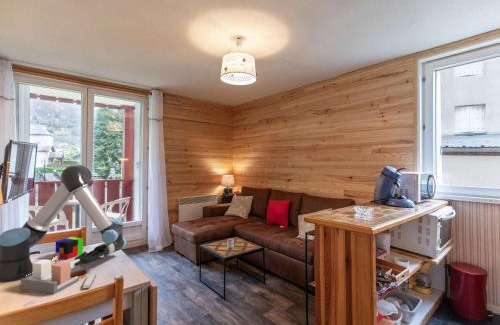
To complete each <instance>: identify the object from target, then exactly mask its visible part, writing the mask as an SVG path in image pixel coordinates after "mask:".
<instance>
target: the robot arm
mask: <svg viewBox="0 0 500 325" xmlns="http://www.w3.org/2000/svg"><path fill="white" fill-rule="evenodd" d="M92 179H93V172H92V170H91V168H89V167H87V166H86V165H82V164H78V165H69V166H67V167H65V168H64V169H63V170H62V172H61V174H60V180H59V181H60V185H59V186H58V188H57V189H55V191H54V192H53V194H52V195H51V196H50V197H49V198H48V199H47V201H46V202H45V203H44V205H43V206H42V207H41V208H40V209H39V211H37V213H36V215H35V216H33V218H30V219H28V220H26V221H25V223H24V224H23V226H22V227H15V228H12V229H7V230H5V231H3V232H2V233H0V283H9V282H14V281H19V280H21V279H22V278H24V277H25V276H26V275H28V274H30V273H32V272H33V262H32V261H31V256H30V253H31V248H33V247H34V246H36V245H38V244H40V243H41V242H42V241H43V240H44V239H45V237H46V236H47V233H48V232H49V230H50V225H51V223H53V221H54V220H55V218H56V217H57V216H58V214H59V213H61V211H62V209H64V207H65V206H66V205H67V203H68V202H69V201H70V200H71V198H73V196H74V197H75V199H76V200H77V202H78V203H79V205H80V206H81V208H82V209H83V210H84V211H85V213H86V214H87V216H88V217H89V219H90V220H91V222H92V223H93V224H94V226H95V227H96V229H97V230H98V231H99V233H100V234H101V241H102V242H103V243H101V244H99V245H96V246H95V247H94V249H92V250H91V251H89V252H87V251H83V253H82V254H81V255H78V256H76V257H74V260H72V261H69V262H70V266H71V270H72V269H73V268H76V267H78V266H80V265H88V264H91V263H93V262H95V261H99V260H102V259H105V258H106V257H109V256H110V255H113V254H114V253H116V252H117V251H118V252H119V251H121V250H122V249H124V248H125V247H126V246H127V240H126V238H125V237H124V236H123V235H124V234H123V230H124V223H123V222H124V221H123V219H120V218H118V219H117V218H115V219H110V217H109V215H107V213H106V212H105V210H104V209H103V207H102V206H101V204H100V203H99V201H98V200H97V198H96V197H95V195H94V194H93V192H92V191H91V190H90V188H89V187H88V186H89V183H90V181H91V180H92ZM32 274H33V273H32ZM25 278H26V277H25Z"/></svg>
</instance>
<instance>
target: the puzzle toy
mask: <svg viewBox="0 0 500 325" xmlns="http://www.w3.org/2000/svg"><path fill="white" fill-rule="evenodd" d="M83 247H84V238H81V237H76V236H75V237H74V236H70V237H66V238H63V239H60V240H56V241H55V255H56V256H58V257H59V258H58V259H62V260H71V259H73V258H76V257H77V256H79V255H81V254H82V253H83V252H84V248H83Z"/></svg>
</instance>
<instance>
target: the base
mask: <svg viewBox="0 0 500 325" xmlns="http://www.w3.org/2000/svg"><path fill="white" fill-rule="evenodd" d="M51 276H52V274H51ZM79 281H80V278H79V277H78V275H77V276H75V277H71V276H70V280H68V281H66V282H64V283H62V284H60V285H57V282H54V281H52V277H50V278H48V279H46V280H39V279H32V278H31V277H25V278H22V279H20V290H21V291H27V292H28V291H29V292H32V293H33V292H35V293H41V294H49V295H56V294H58V293H59V292H61V291H63V290H66V289H67V288H69V287H70V286H72V285H74V284H77V283H78V282H79Z"/></svg>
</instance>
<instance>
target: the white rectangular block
mask: <svg viewBox="0 0 500 325" xmlns="http://www.w3.org/2000/svg"><path fill="white" fill-rule="evenodd" d="M32 265H33V273H32V278H31V279H39V280H46V279H48V278H50V277H51V275H52V265H53V264H52V259H44V258H43V259H40V260H39V261H35V262H32Z"/></svg>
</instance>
